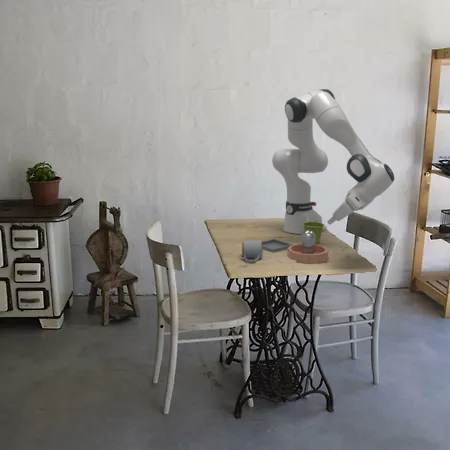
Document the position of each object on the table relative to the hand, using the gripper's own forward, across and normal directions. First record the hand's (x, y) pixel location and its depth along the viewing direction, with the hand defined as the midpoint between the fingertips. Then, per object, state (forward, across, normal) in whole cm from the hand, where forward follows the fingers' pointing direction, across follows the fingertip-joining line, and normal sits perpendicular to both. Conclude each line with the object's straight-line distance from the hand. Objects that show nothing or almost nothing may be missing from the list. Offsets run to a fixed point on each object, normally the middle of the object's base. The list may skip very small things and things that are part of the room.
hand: (331, 220), depth 226 cm
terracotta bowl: (+18, 0, +5) cm, 19 cm away
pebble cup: (+17, 0, +4) cm, 18 cm away
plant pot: (+21, -21, +3) cm, 30 cm away
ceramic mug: (+32, +11, -8) cm, 35 cm away
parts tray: (+30, -7, -7) cm, 31 cm away
